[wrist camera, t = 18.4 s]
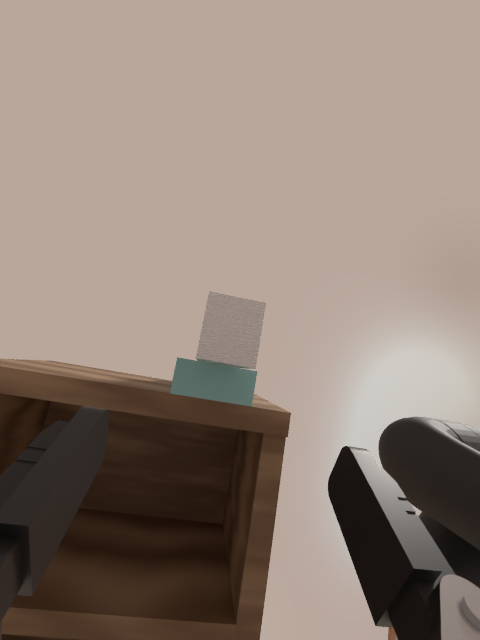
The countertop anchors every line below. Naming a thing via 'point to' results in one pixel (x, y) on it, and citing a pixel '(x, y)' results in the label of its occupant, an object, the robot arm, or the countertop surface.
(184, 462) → the walnut shelf
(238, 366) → the metal bar
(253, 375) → the teal base block
